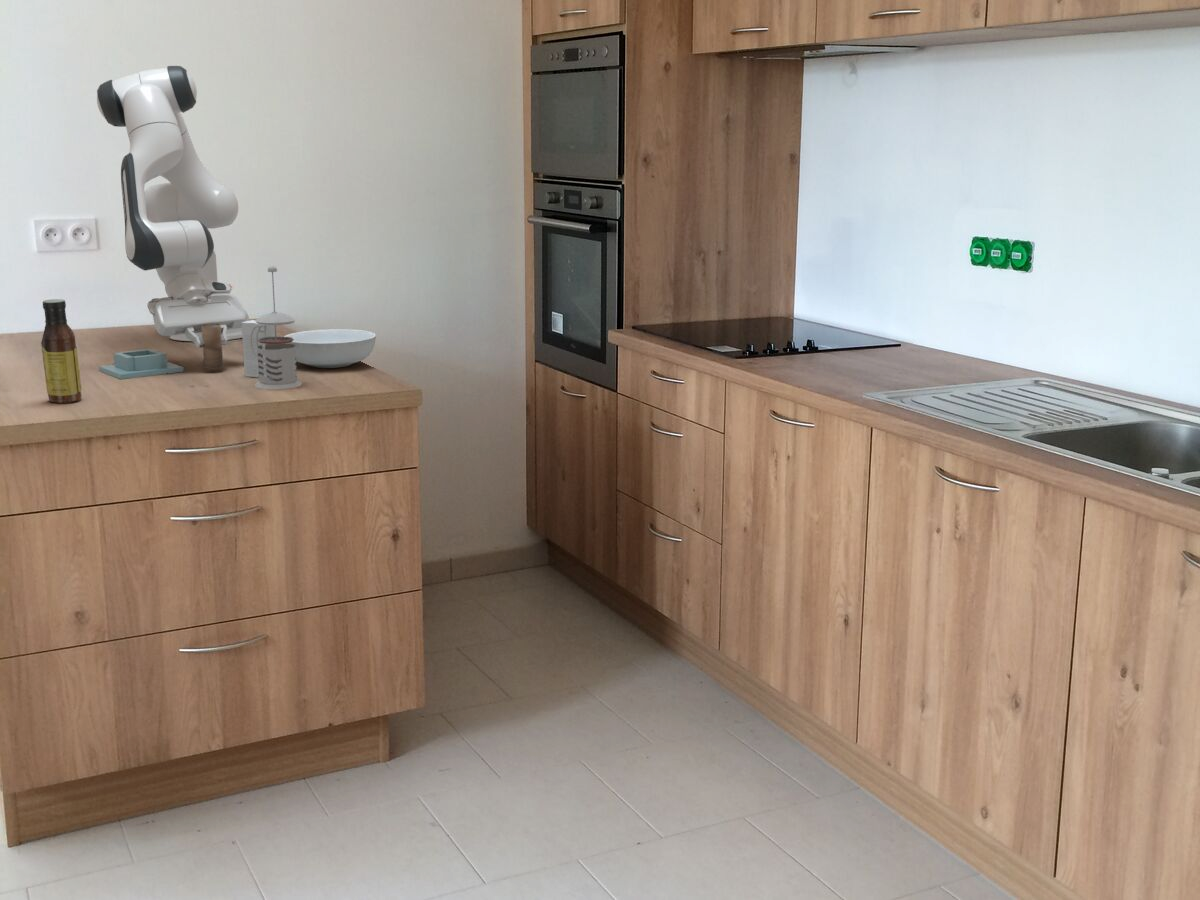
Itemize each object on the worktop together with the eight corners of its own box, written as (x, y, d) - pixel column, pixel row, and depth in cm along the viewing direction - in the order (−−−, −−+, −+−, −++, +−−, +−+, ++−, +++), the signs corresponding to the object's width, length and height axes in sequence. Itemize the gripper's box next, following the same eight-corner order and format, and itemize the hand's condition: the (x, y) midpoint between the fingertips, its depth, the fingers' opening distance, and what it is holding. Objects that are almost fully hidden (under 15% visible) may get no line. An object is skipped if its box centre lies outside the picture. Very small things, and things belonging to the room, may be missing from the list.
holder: (160, 363, 280) (159, 346, 279) (183, 371, 272) (182, 353, 271) (99, 370, 271) (97, 353, 270) (120, 379, 262) (119, 360, 261)
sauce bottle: (63, 396, 244) (53, 297, 240) (89, 398, 243) (80, 298, 238) (39, 403, 238) (29, 301, 233) (66, 405, 237) (56, 302, 232)
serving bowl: (333, 353, 297) (332, 325, 295) (395, 363, 285) (394, 334, 283) (264, 365, 280) (263, 335, 279) (328, 376, 269) (326, 345, 267)
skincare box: (278, 375, 269) (276, 321, 266) (267, 378, 265) (264, 323, 262) (255, 373, 271) (252, 319, 268) (243, 376, 267) (240, 322, 264)
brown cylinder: (218, 364, 275) (215, 324, 272) (226, 366, 272) (223, 326, 270) (201, 366, 272) (198, 326, 270) (209, 368, 269) (206, 328, 267)
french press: (277, 391, 253) (271, 269, 246) (238, 384, 259) (231, 265, 252) (311, 383, 261) (306, 265, 255) (273, 377, 267) (267, 262, 261)
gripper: (147, 290, 266) (170, 341, 262) (235, 283, 280) (258, 331, 275) (141, 308, 270) (163, 358, 266) (227, 300, 284) (250, 348, 279)
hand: (212, 344), depth 271 cm, fingers closed on brown cylinder, 4 cm apart
